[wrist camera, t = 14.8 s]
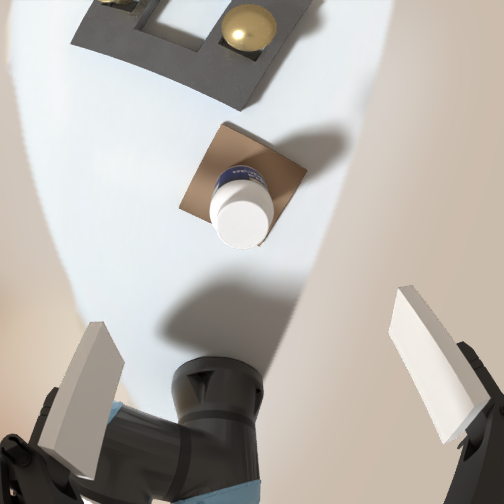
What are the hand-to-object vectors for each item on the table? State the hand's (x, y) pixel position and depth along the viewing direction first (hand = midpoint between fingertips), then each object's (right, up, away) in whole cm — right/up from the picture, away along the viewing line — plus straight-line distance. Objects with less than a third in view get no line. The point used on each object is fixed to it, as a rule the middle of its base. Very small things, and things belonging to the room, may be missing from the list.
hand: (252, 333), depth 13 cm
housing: (-7, +27, +10) cm, 29 cm away
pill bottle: (-1, +10, +19) cm, 21 cm away
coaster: (-1, +10, +19) cm, 22 cm away
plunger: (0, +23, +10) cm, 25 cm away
